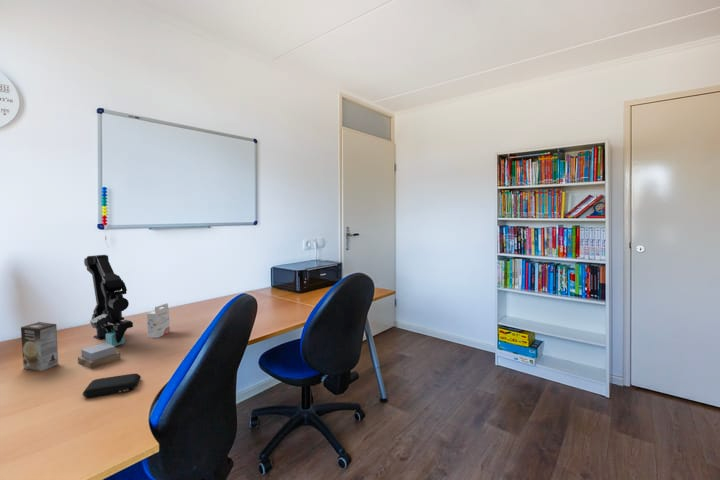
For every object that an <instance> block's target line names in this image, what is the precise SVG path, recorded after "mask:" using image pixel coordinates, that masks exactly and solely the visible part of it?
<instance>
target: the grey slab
mask: <svg viewBox="0 0 720 480" xmlns="http://www.w3.org/2000/svg"><path fill="white" fill-rule="evenodd" d="M80 352H81V356H82V357H83V358H85V359H88V360H90V361H94V360H97V359H100V358H103V357H106V356H110V355H113V354H115V352H116V346H113V345H110V344H107V343H106V342H101V343H99V344H96V345H92V346H88V347H85V348H82V349H81V351H80Z"/></svg>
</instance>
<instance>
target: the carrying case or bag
mask: <svg viewBox="0 0 720 480" xmlns="http://www.w3.org/2000/svg"><path fill="white" fill-rule="evenodd" d="M141 378H142V375H140V374H139V373H128V374H121V375H115V376H109V377H108V376H107V377H101V378H97V379H93V380H92V381H91V382H90V383H89V384H88V385H87V387H86V388H85V390H84V391H83V392H82V396H83V397H85V398H86V399H91V398H97V397H103V396H110V395H115V394H122V393H126V392H127V393H128V392H131V391H134V390H135V389H136V387H138V385H139V382H140V381H141Z"/></svg>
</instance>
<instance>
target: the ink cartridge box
mask: <svg viewBox="0 0 720 480" xmlns="http://www.w3.org/2000/svg"><path fill="white" fill-rule="evenodd" d="M146 320H147V321H146V322H147V335H148V338H155V339H157V338H160V337H162V336H164V335H167V334H169V333H170V327H171V326H170V309H169V303H164V304H161V305H158V306H155V307H154V310H152V311H150V312H146Z"/></svg>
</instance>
